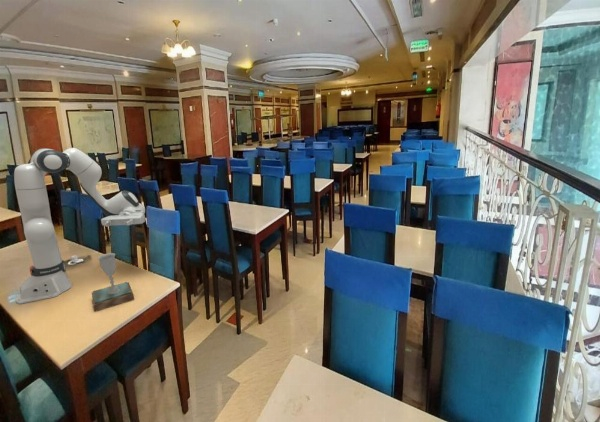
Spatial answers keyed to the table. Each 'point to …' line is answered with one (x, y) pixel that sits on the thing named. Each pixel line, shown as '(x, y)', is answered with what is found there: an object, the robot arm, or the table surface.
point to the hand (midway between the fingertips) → (116, 224)
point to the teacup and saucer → (75, 260)
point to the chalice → (109, 269)
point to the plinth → (112, 296)
